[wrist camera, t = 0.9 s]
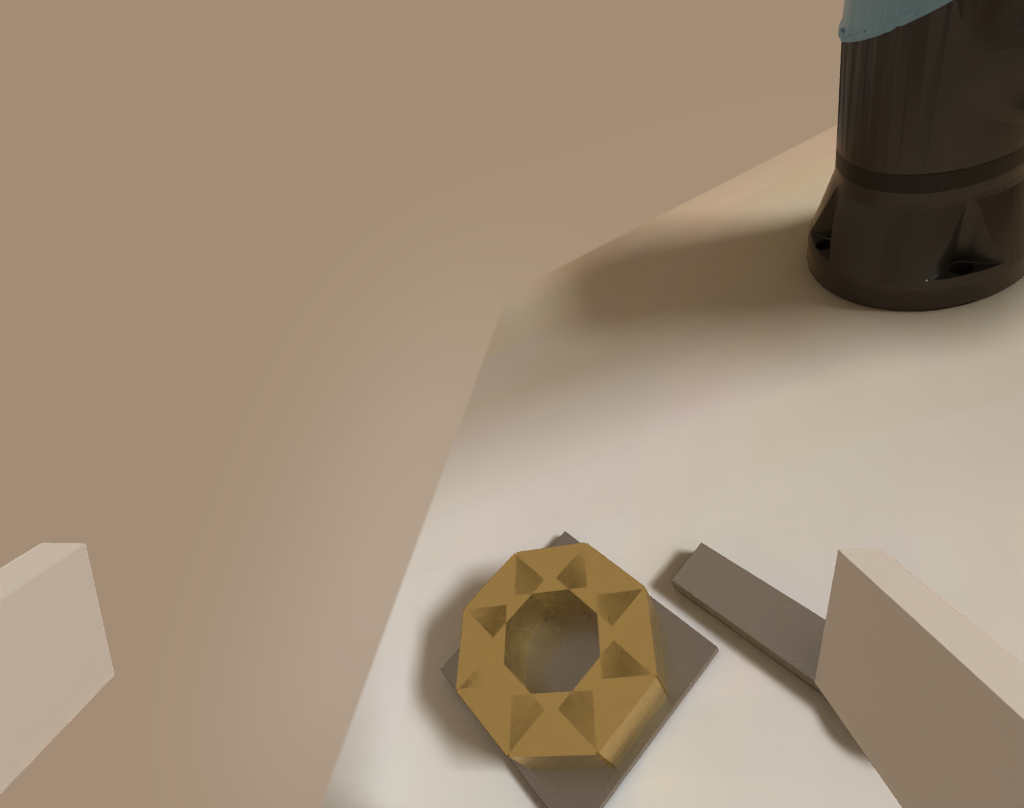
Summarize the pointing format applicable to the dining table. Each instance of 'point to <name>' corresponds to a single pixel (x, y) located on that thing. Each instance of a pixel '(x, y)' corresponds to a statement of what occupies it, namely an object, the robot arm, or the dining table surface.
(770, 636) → the grey bar with ball
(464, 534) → the dining table surface
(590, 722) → the ring nut
